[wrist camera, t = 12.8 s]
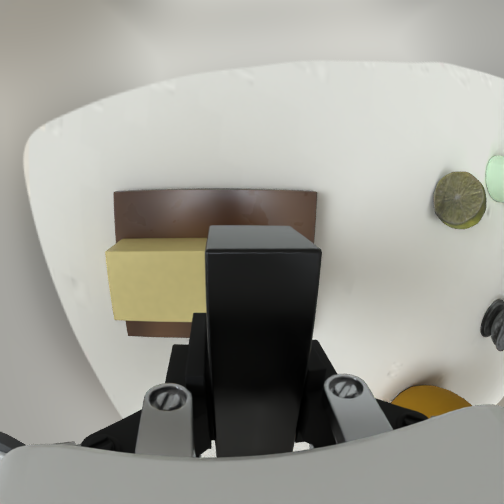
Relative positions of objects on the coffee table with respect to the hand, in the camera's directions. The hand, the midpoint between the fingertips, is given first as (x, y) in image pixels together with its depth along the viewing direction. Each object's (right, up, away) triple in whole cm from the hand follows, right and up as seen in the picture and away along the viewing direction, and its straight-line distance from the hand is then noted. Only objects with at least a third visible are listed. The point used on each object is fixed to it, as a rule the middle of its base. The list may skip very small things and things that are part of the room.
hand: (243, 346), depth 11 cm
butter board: (-2, +3, +10) cm, 11 cm away
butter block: (-5, +2, +9) cm, 11 cm away
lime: (+18, +9, +11) cm, 23 cm away
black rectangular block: (0, +1, +4) cm, 4 cm away
